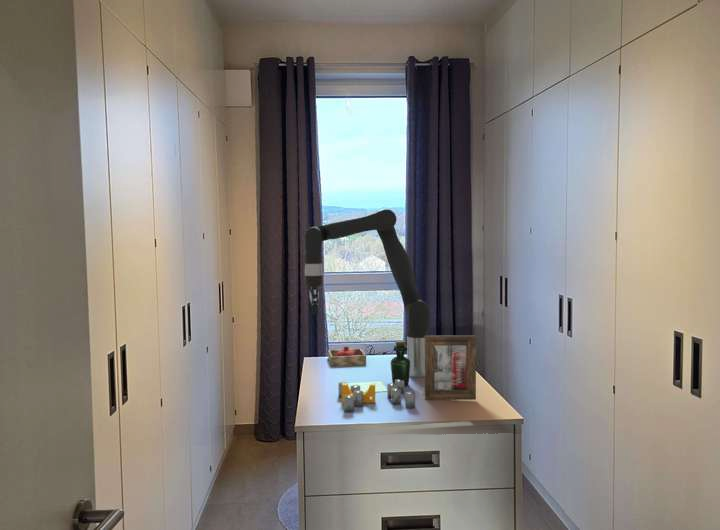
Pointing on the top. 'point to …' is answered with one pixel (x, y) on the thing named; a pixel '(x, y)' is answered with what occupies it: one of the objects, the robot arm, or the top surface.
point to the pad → (365, 385)
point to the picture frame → (450, 367)
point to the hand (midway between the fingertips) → (314, 312)
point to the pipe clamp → (366, 395)
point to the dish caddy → (346, 358)
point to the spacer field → (392, 393)
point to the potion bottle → (400, 364)
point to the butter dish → (346, 352)
